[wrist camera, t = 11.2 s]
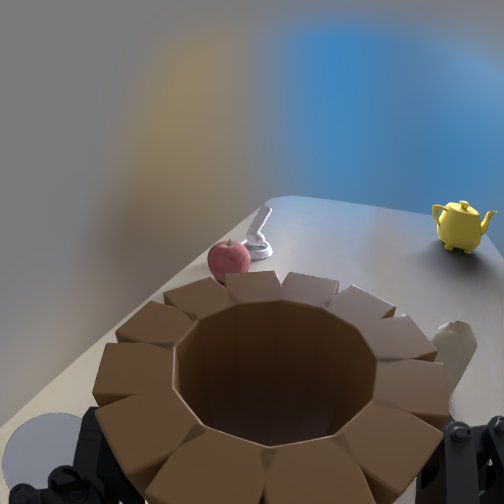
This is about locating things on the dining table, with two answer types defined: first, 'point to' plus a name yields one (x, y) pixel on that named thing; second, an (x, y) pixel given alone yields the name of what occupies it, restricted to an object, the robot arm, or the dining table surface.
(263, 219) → the hook
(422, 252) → the dining table surface
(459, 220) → the teapot
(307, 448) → the wooden slatted pot
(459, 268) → the dining table surface
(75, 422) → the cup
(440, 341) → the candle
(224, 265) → the apple
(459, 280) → the dining table surface
